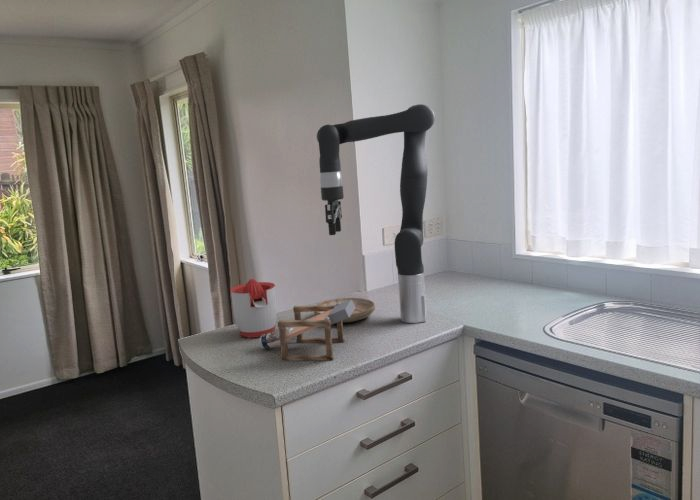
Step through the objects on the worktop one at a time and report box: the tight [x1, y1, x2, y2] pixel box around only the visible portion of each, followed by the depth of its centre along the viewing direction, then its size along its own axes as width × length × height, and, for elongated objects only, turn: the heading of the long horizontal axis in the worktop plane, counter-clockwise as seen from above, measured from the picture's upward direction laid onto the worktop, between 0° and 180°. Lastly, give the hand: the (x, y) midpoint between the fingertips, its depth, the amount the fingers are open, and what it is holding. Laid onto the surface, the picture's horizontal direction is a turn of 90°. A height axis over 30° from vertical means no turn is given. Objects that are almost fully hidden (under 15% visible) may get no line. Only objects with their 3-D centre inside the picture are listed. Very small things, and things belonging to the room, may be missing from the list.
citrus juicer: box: [230, 278, 278, 339], centre depth 195 cm, size 16×17×20 cm
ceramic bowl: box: [313, 297, 376, 324], centre depth 208 cm, size 23×24×5 cm
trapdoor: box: [287, 299, 356, 339], centre depth 173 cm, size 20×14×3 cm
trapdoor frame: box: [277, 302, 345, 361], centre depth 174 cm, size 16×18×13 cm
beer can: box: [258, 327, 297, 350], centre depth 177 cm, size 5×5×12 cm
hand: (335, 233), depth 189 cm, fingers open, 8 cm apart
